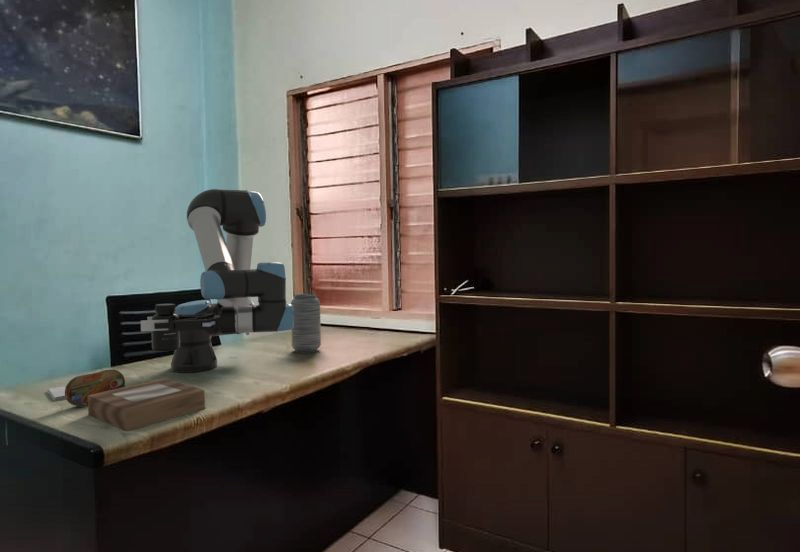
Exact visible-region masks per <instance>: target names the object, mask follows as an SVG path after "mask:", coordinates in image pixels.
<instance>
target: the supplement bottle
mask: <svg viewBox="0 0 800 552" xmlns="http://www.w3.org/2000/svg"><path fill="white" fill-rule="evenodd" d="M154 306H155V307H154V312H155V314H154V315H153V316H151V317H152V320H167V319H168V318H171V320H180V318H179V316H178V315H177V314H175V311H176V309H175V308H176V304H175V303H157V304H155V305H154ZM179 348H180V331H173V332H171V331H170V330H162V331H151V349H152V350H153V351H155V352H170V351H175V350H176V349H179Z"/></svg>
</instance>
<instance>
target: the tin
mask: <svg viewBox="0 0 800 552" xmlns="http://www.w3.org/2000/svg"><path fill="white" fill-rule="evenodd" d="M125 385H126V380H125V376H124V375H123V373H121V371H119V370H116V369H103V370H99V371H94V372H91V373H86V374H82V375H78V376H75V377H73V378H71V380H69V382H68V383H67V384H66V385H65V386H66V388H65V397H66V399H65V400H66V401H67V403H69V404H70V405H71V406H74V407H78V408H86V407H88V395H92V394H96V393H101V392H105V391H110V390H114V389H119V388H123V387H126V386H125Z"/></svg>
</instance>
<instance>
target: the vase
mask: <svg viewBox="0 0 800 552" xmlns="http://www.w3.org/2000/svg"><path fill="white" fill-rule="evenodd" d="M290 304H292V305H293V310H294V327H293V328H292V329H291V330H290V331H291V347H292V349H293V350H295V353H298V354H311V353H316V352H317V351H318V349H319V348H320V347H321V345H322V336H321V335H322V334H321V333H322V332H321V301H320V299H319V298H318V297H317V294H315V293H298V294H294V298H293V299H292V300H291V302H290Z"/></svg>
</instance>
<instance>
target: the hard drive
mask: <svg viewBox="0 0 800 552" xmlns="http://www.w3.org/2000/svg"><path fill="white" fill-rule="evenodd" d="M66 386H67V385H62V386H56V387H50V388H47V393H48V395H49V394H50V395H49V396H50V397H51V399H52V401H54V402H58V400H59V401H63V400H66V397H65V388H66Z"/></svg>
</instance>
